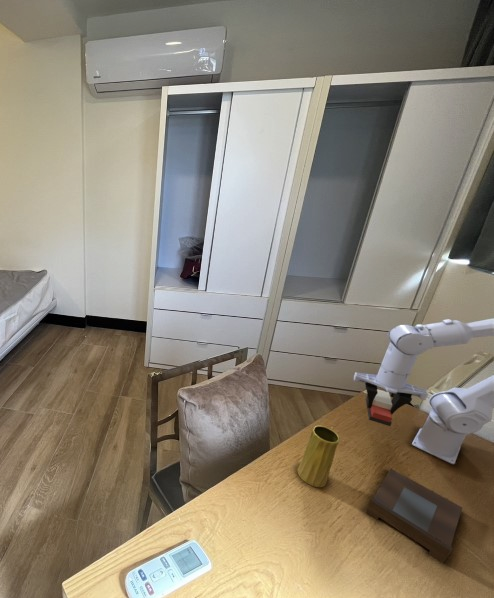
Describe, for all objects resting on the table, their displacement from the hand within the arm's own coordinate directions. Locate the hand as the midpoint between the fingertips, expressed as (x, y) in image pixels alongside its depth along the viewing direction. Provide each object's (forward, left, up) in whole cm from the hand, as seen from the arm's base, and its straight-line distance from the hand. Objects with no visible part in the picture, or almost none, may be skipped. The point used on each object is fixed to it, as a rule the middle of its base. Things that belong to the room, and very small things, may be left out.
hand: (378, 409), depth 86 cm
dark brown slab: (+21, +13, -8) cm, 26 cm away
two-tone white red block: (0, 0, -1) cm, 1 cm away
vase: (+29, -4, -8) cm, 30 cm away
